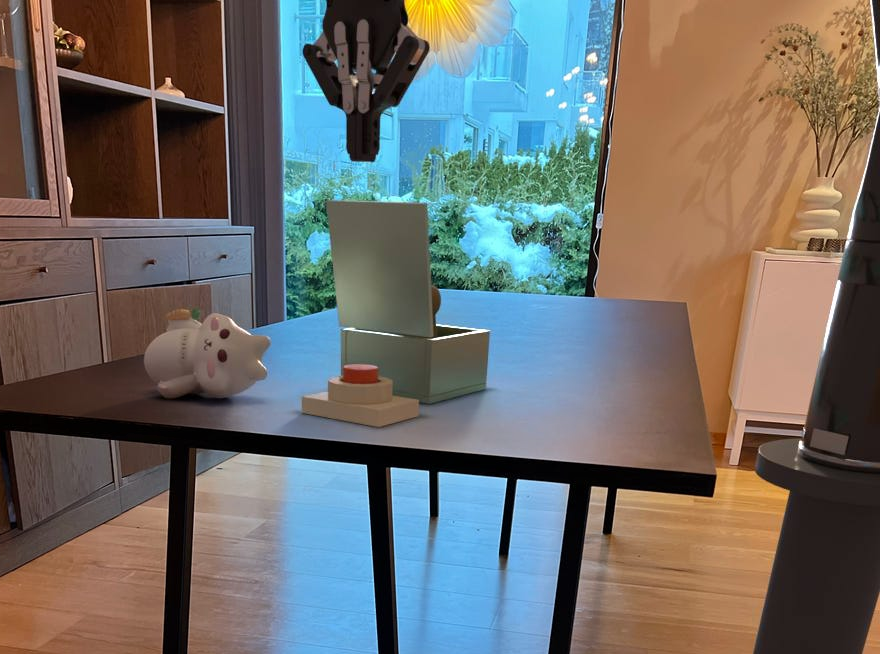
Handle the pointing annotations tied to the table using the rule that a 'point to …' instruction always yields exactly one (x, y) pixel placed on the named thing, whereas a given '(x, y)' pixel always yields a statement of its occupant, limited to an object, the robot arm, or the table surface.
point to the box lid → (381, 265)
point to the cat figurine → (205, 356)
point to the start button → (360, 374)
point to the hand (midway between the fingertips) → (363, 161)
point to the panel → (361, 403)
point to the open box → (422, 360)
